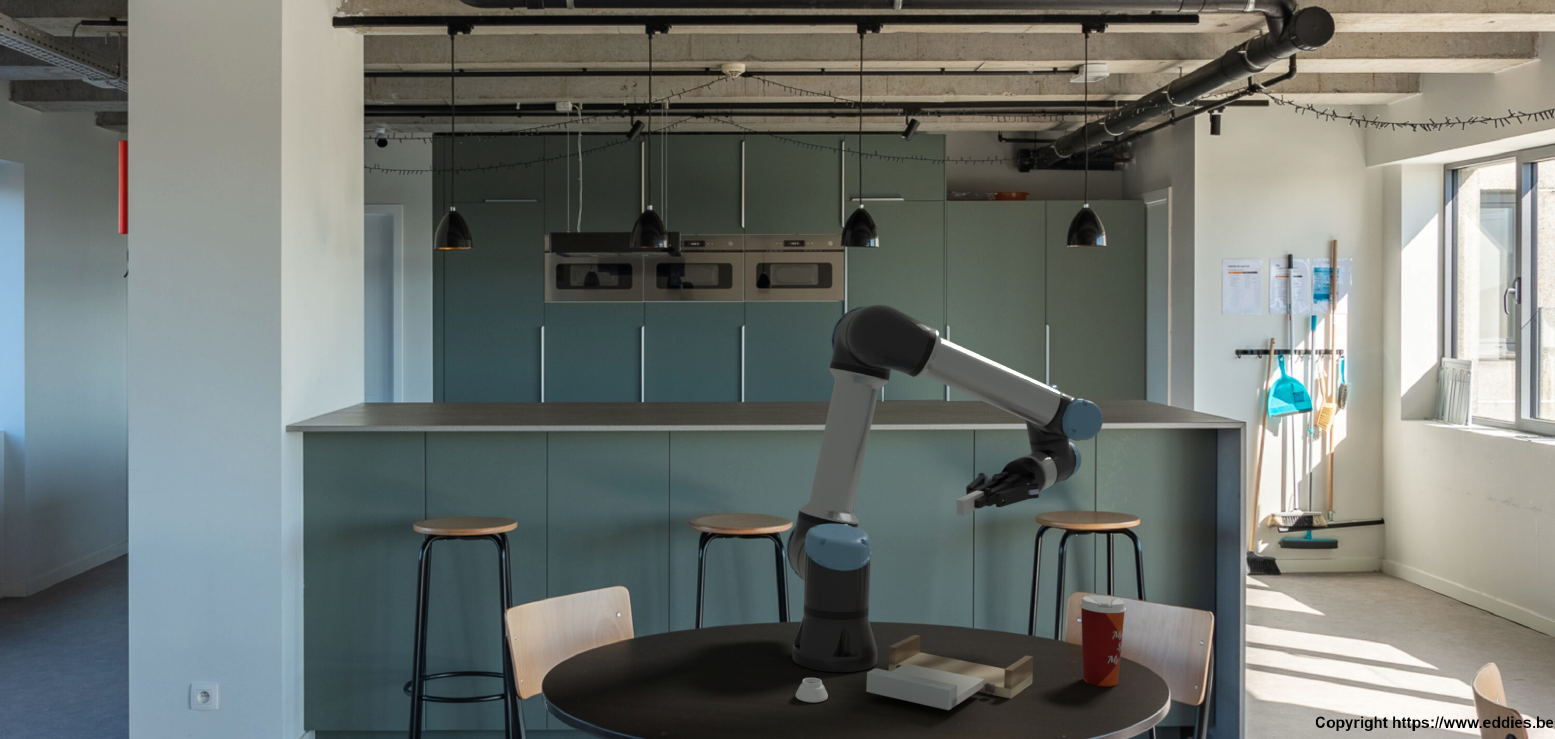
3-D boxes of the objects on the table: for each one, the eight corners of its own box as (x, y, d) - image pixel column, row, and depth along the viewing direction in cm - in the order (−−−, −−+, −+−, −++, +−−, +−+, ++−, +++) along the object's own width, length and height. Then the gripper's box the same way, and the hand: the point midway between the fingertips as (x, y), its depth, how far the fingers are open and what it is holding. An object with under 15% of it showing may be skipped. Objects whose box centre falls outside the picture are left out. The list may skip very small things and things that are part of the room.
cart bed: (882, 675, 177) (883, 649, 177) (913, 659, 187) (914, 634, 187) (1006, 702, 165) (1006, 674, 165) (1032, 683, 175) (1033, 656, 175)
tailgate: (905, 670, 175) (866, 691, 163) (906, 652, 175) (867, 672, 163) (984, 686, 167) (948, 710, 156) (984, 668, 167) (949, 690, 156)
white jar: (792, 694, 166) (800, 705, 161) (793, 676, 166) (800, 686, 161) (822, 693, 167) (831, 703, 162) (823, 675, 167) (831, 685, 162)
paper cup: (1127, 690, 172) (1129, 606, 172) (1079, 686, 174) (1081, 603, 174) (1121, 676, 180) (1123, 596, 180) (1075, 672, 182) (1077, 593, 181)
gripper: (1059, 500, 195) (992, 535, 178) (998, 488, 204) (929, 520, 187) (1059, 462, 194) (992, 493, 177) (998, 451, 203) (929, 480, 186)
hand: (960, 507), depth 182 cm, fingers closed
